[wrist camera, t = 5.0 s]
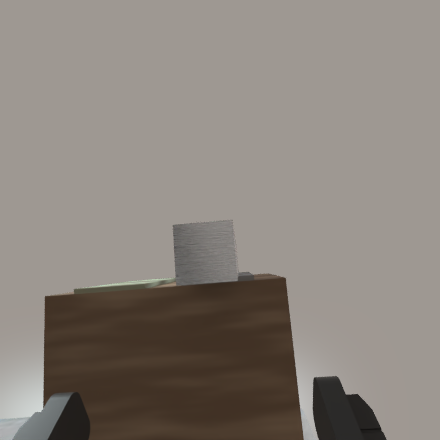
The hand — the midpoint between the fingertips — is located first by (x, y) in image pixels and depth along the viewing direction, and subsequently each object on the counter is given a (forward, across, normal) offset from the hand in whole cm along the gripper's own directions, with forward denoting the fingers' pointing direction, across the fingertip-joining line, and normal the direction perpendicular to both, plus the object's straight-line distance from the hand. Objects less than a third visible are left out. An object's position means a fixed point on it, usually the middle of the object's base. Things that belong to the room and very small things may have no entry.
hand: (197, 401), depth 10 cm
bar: (+17, 0, -6) cm, 18 cm away
